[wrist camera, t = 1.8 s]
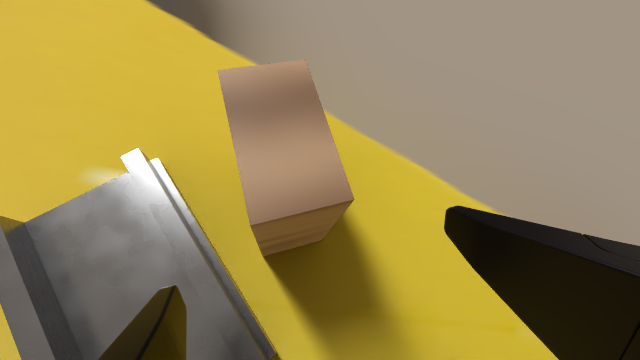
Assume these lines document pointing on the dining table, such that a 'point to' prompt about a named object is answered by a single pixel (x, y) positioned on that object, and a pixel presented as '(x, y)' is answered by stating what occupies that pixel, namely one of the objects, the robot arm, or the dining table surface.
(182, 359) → the robot arm
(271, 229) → the brown wooden block
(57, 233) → the door track
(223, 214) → the dining table surface
